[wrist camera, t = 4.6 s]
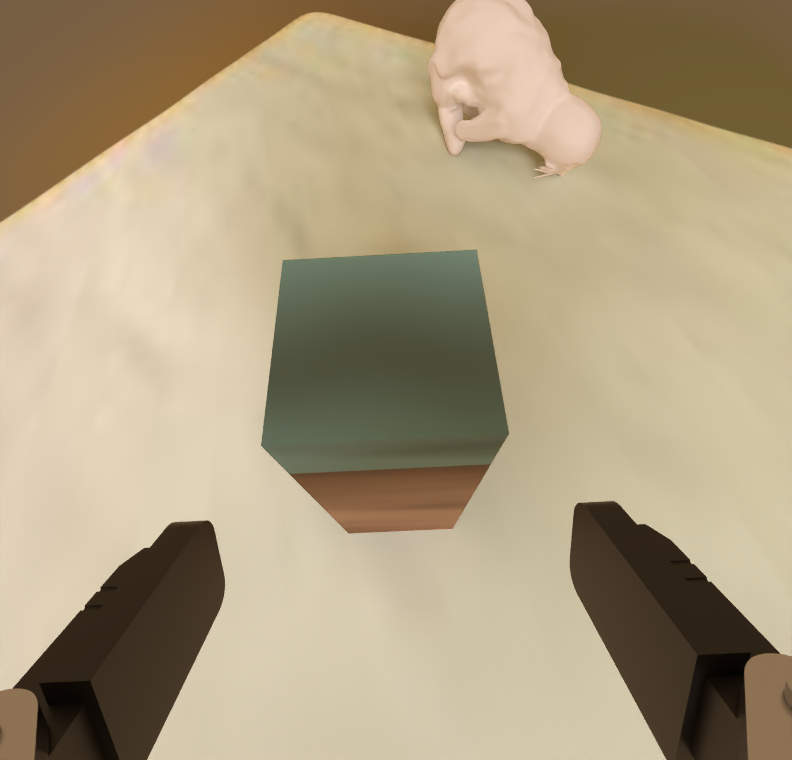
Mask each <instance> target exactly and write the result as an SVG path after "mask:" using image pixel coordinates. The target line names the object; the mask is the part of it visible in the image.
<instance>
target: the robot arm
mask: <svg viewBox="0 0 792 760" xmlns="http://www.w3.org/2000/svg"><path fill="white" fill-rule="evenodd" d="M570 572H571V577H572V581H573V584H574V587H575V590H576V592H577V594H578V596H579V598H580V600H581V602H582V603H583V605H584V607H585V609H586V611H587V613H588V615H589V616H590V618H591V620H592V622H593V624H594V626H595V628H596V629H597V631H598V633H599V635H600V637H601V639H602V641H603V642H604V644H605V646H606V648H607V650H608V652H609V654H610V655H611V657H612V659H613V661H614V663H615V665H616V667H617V668H618V670H619V672H620V674H621V676H622V678H623V680H624V681H625V683H626V685H627V687H628V689H629V691H630V693H631V694H632V696H633V698H634V700H635V702H636V704H637V706H638V707H639V709H640V711H641V713H642V715H643V717H644V719H645V720H646V722H647V724H648V726H649V728H650V730H651V732H652V733H653V735H654V737H655V739H656V741H657V743H658V745H659V746H660V748H661V750H662V752H663V754H664V756H665V758H666V759H667V760H792V657H791V656H787V655H783V654H780V653H779V652H778V651H777V650H776V649H775V648H774V647H773V646H772V645H771V644H770V642H769V641H768V640H767V639H766V638H765V637H764V636H763V635H762V634H761V633H760V632H759V631H758V630H757V629H756V628H755V627H754V626H753V625H752V624H751V623H750V622H749V621H748V620H747V619H746V618H745V617H744V615H743V614H742V613H741V612H740V611H739V610H738V609H737V608H736V607H735V606H734V605H733V604H732V603H731V602H730V601H729V600H728V599H727V598H726V597H725V596H724V595H723V594H722V593H721V592H720V591H719V590H718V589H717V587H716V586H715V585H714V584H713V583H712V582H708V581H707V577H706V576H705V575H704V574H703V573H702V572H701V571H700V570H699V569H698V568H697V567H696V566H695V565H694V564H691V563H690V559H689V558H688V557H687V556H686V555H685V554H684V553H683V552H682V551H681V550H680V549H679V548H678V547H677V546H676V545H675V544H674V543H673V542H672V541H671V540H670V539H668V538H667V537H665V536H663V535H662V534H660V533H659V532H657V531H655V530H654V529H652V528H650V527H649V526H647V525H646V524H639V525H637V524H636V523H635V522H634V521H633V520H632V519H631V517H630V516H629V515H628V514H627V513H626V512H625V511H624V510H623V508H622V507H621V506H620V505H619V504H618V503H616V502H614V501H607V502H587V503H578V504H577V505H576V506H575V509H574V516H573V528H572V540H571V552H570ZM224 591H225V577H224V572H223V567H222V563H221V558H220V554H219V549H218V544H217V540H216V535H215V531H214V527H213V525H212V523H211V522H210V521H190V522H173V523H171V524H170V525H168V526H167V528H166V529H165V530H164V531H163V532H162V534H161V535H160V536H159V537H158V538H157V540H156V541H155V542H154V543H153V545H152V546H151V547H150V548H144V549H142V550H141V551H139V552H138V553H137V554H135V555H134V556H133V557H131V558H130V559H128V560H127V561H126V562H124V563H123V564H122V565H120V566H119V567H118V568H117V569H116V570H115V572H114V573H113V574H112V575H111V576H110V577H109V578H108V580H107V581H106V582H105V583H104V584H103V585H102V587H101V590H100V592H96V593H95V595H94V596H93V597H92V598H91V599H90V600H89V601H88V603H87V604H86V605H85V609H84V610H83V611H80V612H79V613H78V614H77V615H76V616H75V618H74V619H73V620H72V621H71V622H70V623H69V624H68V626H67V627H66V628H65V629H64V630H63V631H62V632H61V634H60V635H59V636H58V637H57V638H56V639H55V640H54V642H53V643H52V644H51V645H50V646H49V647H48V648H47V650H46V651H45V652H44V653H43V654H42V655H41V657H40V658H39V659H38V660H37V661H36V662H35V663H34V665H33V666H32V667H31V668H30V669H29V670H28V671H27V673H26V674H25V675H24V676H23V677H22V678H21V679H20V681H19V682H18V683H17V684H16V685H15V686H14V687H13V689H8V690H3V691H0V760H147V759H148V756H149V754H150V752H151V750H152V748H153V746H154V744H155V742H156V740H157V738H158V736H159V734H160V732H161V730H162V728H163V726H164V723H165V721H166V719H167V717H168V715H169V713H170V711H171V709H172V707H173V705H174V703H175V701H176V699H177V697H178V695H179V692H180V690H181V688H182V686H183V684H184V682H185V680H186V678H187V676H188V674H189V672H190V670H191V668H192V666H193V664H194V662H195V659H196V657H197V655H198V653H199V651H200V649H201V647H202V645H203V643H204V641H205V639H206V637H207V635H208V633H209V631H210V629H211V626H212V624H213V622H214V620H215V618H216V616H217V614H218V612H219V610H220V608H221V605H222V602H223V597H224Z"/></svg>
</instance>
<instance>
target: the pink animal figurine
mask: <svg viewBox="0 0 792 760" xmlns="http://www.w3.org/2000/svg"><path fill="white" fill-rule="evenodd" d="M427 68H428V72H429V76H430V81H431V92H432V98H433V100H434V102H435V103H436V104H437V105H438V115H439V121H440V124H441V126H442V129H443V133H444V137H445V141H446V145H447V148H448V151H449V153H450V154H452V155H454V156H455V155H458V154H459V153H460V152H461V151H462V149H463V147H464V144H465V141H468V142H484V141H490V140H495V139H499V140H501V141H503V142H506V143H510V144H523V145H524V146H526V147H528V148H530V149H532V150H535V151H536V152H537V153H539V154H540V155H541V156H542V157H543V158H544V159H545V160H544V161H545V167H542V166H540V167H542V168H540V167H539V168H540V169H534V170H538V171H541V173H543V172H545V173H546V174H543V175H540V176H537V177H534V178H538V177H544V176H547V175H551V174H558V175H559V176H562V175H563V174H565V173H566V172H567V171H569V170H570V169H572V168H574V167H576V166H580V165H582V164H584V163H585V162H586V161H588V160H589V159H590V157H591V156H592V154H593V153H594V151H595V149H596V147H597V145H598V143H599V140H600V137H601V132H602V126H601V121H600V118H599V116H598V115H597V113H596V112H595V111H594V109H593V108H592V107H591V106H590V105H588V104H587V103H586V102H585V101H584V100H583V99H581V98H580V97H578V96H576V95H573V94H572V93H570V91H569V89H568V83H567V82H566V81H565V79H564V78H563V73H562V71H561V63H560V61H559V59H558V58H556V56H555V55H554V53H553V51H552V49H551V45H550V39H549V36H548V33H547V31H546V30H545V29H544V27H543V26H542V24H541V23H540V21H539V20H538V19H537V18H536V17H535V16H534V15H533V11H532V9H531V7H530V5H529V4H528V3H527V2H526V1H525V0H456V1H455V2H454V3H453V4H452V5H451V6H450V7H449V9H448V10H447V12H446V13H445V15H444V17H443V19H442V21H441V22H440V24H439V27H438V32H437V37H436V41H435V50H434V52H433V54H432V55H431V57H430V59H429V61H428V63H427ZM463 112H464V113H465V114H466V115H467V116H468V117H470V118H471V120H464V118H463ZM540 163H542V162H540ZM540 165H541V164H540ZM541 169H542V170H541Z"/></svg>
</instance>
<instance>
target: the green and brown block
mask: <svg viewBox="0 0 792 760" xmlns="http://www.w3.org/2000/svg"><path fill="white" fill-rule="evenodd" d="M508 434H509V431H508V426H507V420H506V414H505V409H504V403H503V397H502V391H501V386H500V380H499V374H498V369H497V363H496V357H495V352H494V346H493V340H492V335H491V329H490V323H489V318H488V312H487V306H486V301H485V295H484V289H483V284H482V278H481V272H480V267H479V261H478V255H477V250H463V251H445V252H427V253H409V254H390V255H372V256H354V257H335V258H317V259H299V260H283V264H282V272H281V281H280V289H279V298H278V307H277V315H276V324H275V332H274V341H273V349H272V358H271V366H270V375H269V384H268V392H267V401H266V409H265V418H264V426H263V435H262V443H261V446H262V447H263V448H264V449H265V450H266V451H267V452H268V453H269V454H270V455H271V456H272V457H273V458H274V459H275V460H276V461H277V462H278V463H279V464H280V465H281V466H282V467H283V468H284V469H285V470H286V471H287V472H288V473H289V474H290V475H291V476H292V477H293V478H294V479H295V480H296V481H297V482H298V483H299V484H300V485H301V486H302V487H303V488H304V489H305V490H306V491H307V492H308V493H309V494H310V495H311V496H312V497H313V498H314V499H315V500H316V501H317V502H318V503H319V504H320V505H321V506H322V507H323V508H324V509H325V510H326V511H327V512H328V513H329V514H330V515H331V516H332V517H333V518H334V519H335V520H336V521H337V522H338V523H339V524H340V525H341V526H342V527H343V528H344V529H345V530H346V531H347V532H348V533H367V532H388V531H409V530H431V529H452V528H453V527H454V525H455V524H456V522H457V520H458V518H459V517H460V515H461V513H462V512H463V510H464V508H465V507H466V505H467V503H468V502H469V500H470V498H471V497H472V495H473V493H474V491H475V490H476V488H477V486H478V485H479V483H480V481H481V480H482V478H483V476H484V475H485V473H486V471H487V470H488V468H489V466H490V465H491V463H492V461H493V459H494V458H495V456H496V454H497V453H498V451H499V449H500V448H501V446H502V444H503V443H504V441H505V439H506V438H507V436H508Z"/></svg>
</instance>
